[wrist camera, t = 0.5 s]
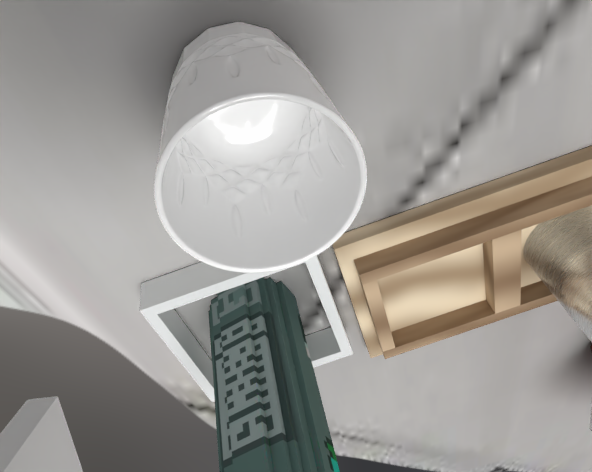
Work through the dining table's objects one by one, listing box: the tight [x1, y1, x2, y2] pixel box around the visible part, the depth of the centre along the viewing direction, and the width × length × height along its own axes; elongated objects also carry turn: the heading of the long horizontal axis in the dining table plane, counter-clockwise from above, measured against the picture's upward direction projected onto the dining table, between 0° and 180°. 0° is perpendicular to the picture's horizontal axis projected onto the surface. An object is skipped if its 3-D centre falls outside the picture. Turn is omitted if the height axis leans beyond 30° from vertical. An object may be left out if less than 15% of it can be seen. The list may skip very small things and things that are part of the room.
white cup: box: [154, 21, 367, 273], centre depth 22 cm, size 8×8×10 cm
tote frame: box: [139, 255, 353, 402], centre depth 36 cm, size 12×12×2 cm
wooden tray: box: [332, 146, 592, 359], centre depth 36 cm, size 13×22×3 cm, turn 107°
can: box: [209, 277, 340, 472], centre depth 31 cm, size 6×6×15 cm
